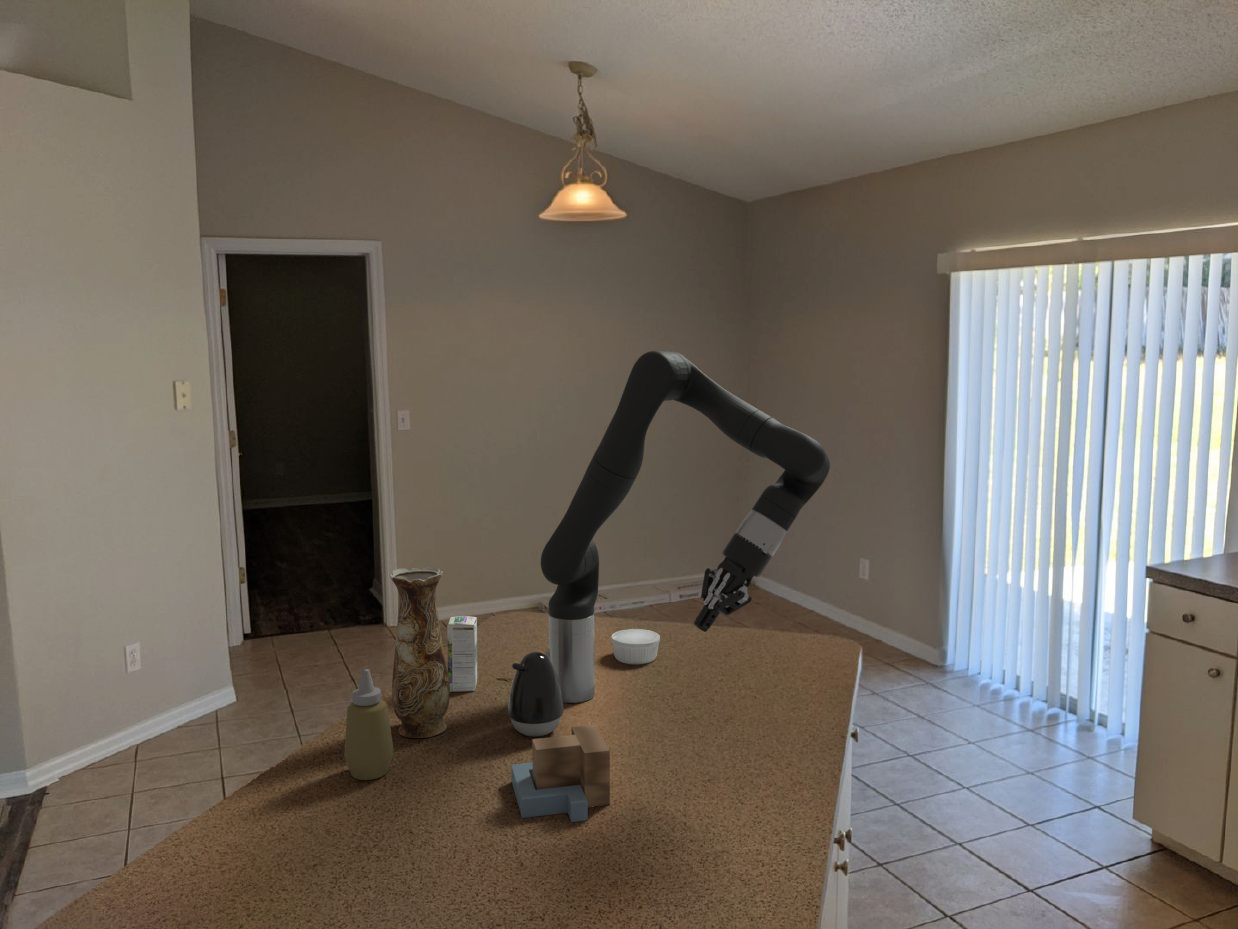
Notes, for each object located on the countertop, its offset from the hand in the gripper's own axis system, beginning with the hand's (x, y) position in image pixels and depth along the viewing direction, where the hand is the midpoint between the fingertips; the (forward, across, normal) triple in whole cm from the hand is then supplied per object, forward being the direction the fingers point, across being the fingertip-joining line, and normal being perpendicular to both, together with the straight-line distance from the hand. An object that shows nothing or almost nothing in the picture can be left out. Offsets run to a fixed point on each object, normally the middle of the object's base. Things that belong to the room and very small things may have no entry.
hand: (699, 628), depth 158 cm
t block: (+33, +5, -8) cm, 34 cm away
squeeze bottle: (+51, -14, -30) cm, 61 cm away
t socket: (+35, +4, -11) cm, 37 cm away
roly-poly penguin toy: (+34, -20, -4) cm, 39 cm away
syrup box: (+40, -46, -9) cm, 62 cm away
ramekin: (+18, -49, +25) cm, 58 cm away
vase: (+46, -29, -20) cm, 57 cm away
